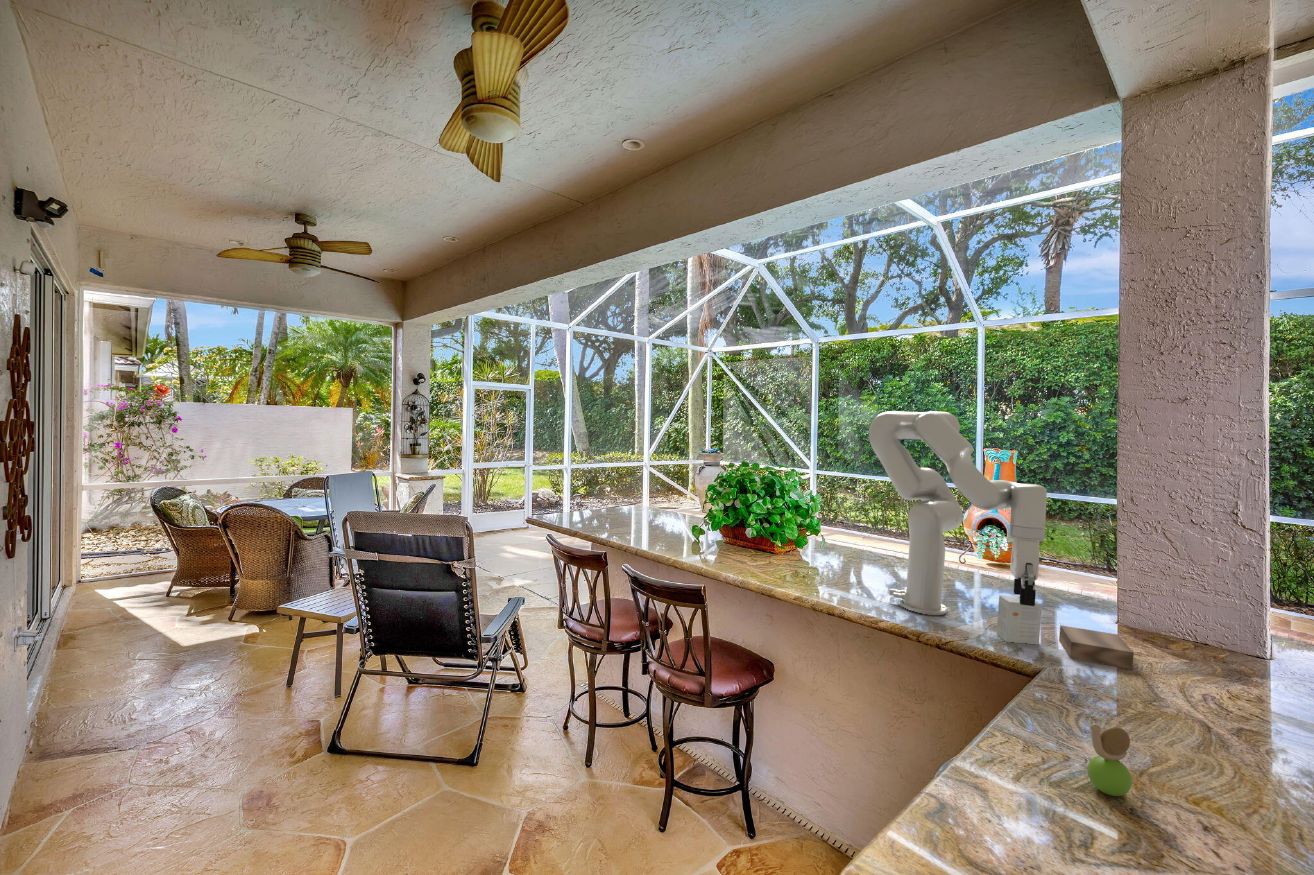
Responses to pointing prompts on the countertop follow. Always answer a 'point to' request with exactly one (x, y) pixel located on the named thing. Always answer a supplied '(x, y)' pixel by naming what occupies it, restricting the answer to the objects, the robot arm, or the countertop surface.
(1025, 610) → the small box
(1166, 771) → the countertop surface
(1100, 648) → the walnut plinth
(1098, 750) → the snail figurine
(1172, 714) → the countertop surface
